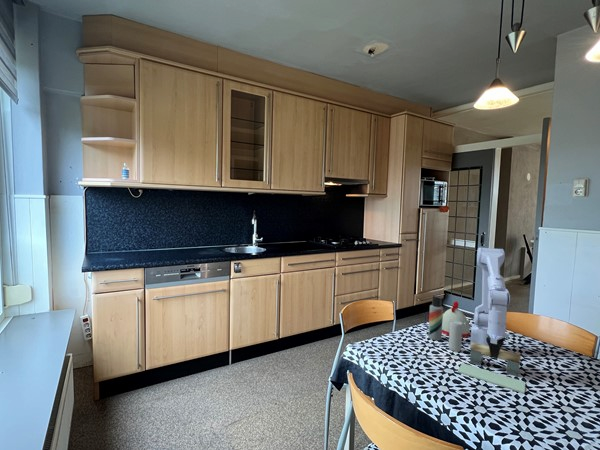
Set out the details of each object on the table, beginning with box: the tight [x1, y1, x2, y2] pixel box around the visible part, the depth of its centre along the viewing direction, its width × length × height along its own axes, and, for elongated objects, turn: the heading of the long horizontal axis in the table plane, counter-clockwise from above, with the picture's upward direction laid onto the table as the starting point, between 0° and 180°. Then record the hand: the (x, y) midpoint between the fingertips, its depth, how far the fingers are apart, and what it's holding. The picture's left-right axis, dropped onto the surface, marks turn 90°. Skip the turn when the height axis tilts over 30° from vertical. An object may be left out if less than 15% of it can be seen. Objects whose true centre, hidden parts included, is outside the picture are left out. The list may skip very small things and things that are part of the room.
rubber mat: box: [457, 362, 526, 394], centre depth 111 cm, size 20×8×1 cm, turn 52°
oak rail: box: [470, 342, 522, 365], centre depth 118 cm, size 16×3×2 cm, turn 52°
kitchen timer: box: [442, 300, 471, 338], centre depth 152 cm, size 14×14×15 cm
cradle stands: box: [469, 348, 520, 378], centre depth 118 cm, size 16×5×5 cm, turn 52°
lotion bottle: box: [427, 295, 444, 341], centre depth 144 cm, size 6×6×20 cm
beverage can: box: [448, 321, 463, 353], centre depth 132 cm, size 5×5×12 cm
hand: (494, 355), depth 118 cm, fingers closed on oak rail, 3 cm apart
